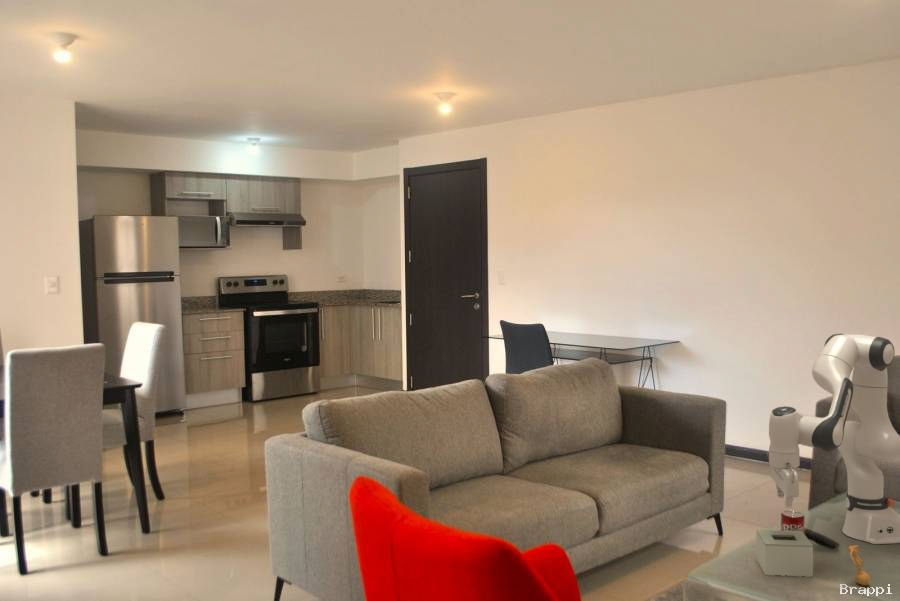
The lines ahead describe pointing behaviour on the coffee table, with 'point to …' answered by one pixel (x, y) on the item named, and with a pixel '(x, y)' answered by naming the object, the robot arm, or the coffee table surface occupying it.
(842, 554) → the coffee table surface
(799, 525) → the soda can
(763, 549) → the coin box
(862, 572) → the figurine
